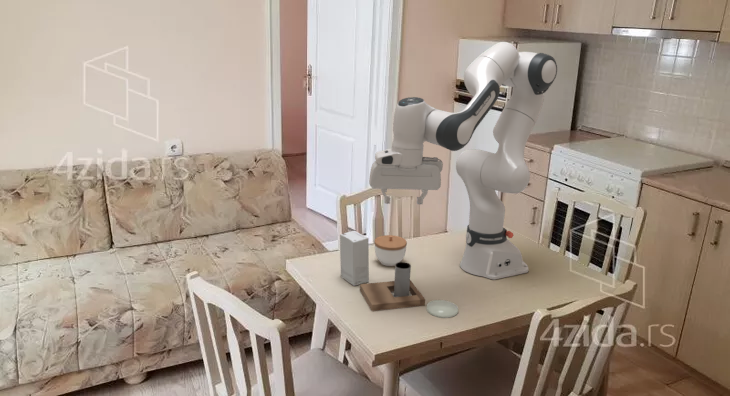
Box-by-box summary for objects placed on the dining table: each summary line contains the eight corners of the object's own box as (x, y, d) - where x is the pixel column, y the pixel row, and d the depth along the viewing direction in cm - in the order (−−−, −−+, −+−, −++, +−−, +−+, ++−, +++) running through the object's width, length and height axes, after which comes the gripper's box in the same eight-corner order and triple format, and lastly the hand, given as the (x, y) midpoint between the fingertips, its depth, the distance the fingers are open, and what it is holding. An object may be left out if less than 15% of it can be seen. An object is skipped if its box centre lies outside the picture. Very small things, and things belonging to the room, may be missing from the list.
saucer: (450, 300, 176) (450, 298, 176) (463, 316, 168) (463, 313, 167) (421, 303, 173) (422, 301, 173) (433, 319, 165) (433, 316, 165)
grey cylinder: (398, 301, 174) (400, 269, 171) (390, 294, 178) (392, 263, 175) (411, 298, 176) (413, 266, 173) (403, 292, 180) (405, 260, 177)
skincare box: (369, 282, 185) (370, 238, 181) (352, 286, 182) (354, 242, 178) (354, 272, 192) (355, 229, 187) (338, 276, 189) (339, 232, 184)
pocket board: (409, 285, 185) (410, 279, 184) (424, 305, 173) (425, 299, 172) (359, 290, 180) (360, 284, 180) (371, 311, 168) (372, 304, 168)
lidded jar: (376, 269, 194) (377, 243, 192) (371, 256, 205) (372, 230, 202) (408, 268, 196) (409, 242, 193) (402, 255, 206) (403, 230, 203)
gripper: (441, 154, 170) (436, 200, 175) (370, 152, 169) (367, 199, 173) (445, 160, 164) (441, 207, 169) (372, 158, 163) (369, 206, 167)
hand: (403, 203), depth 171 cm, fingers open, 8 cm apart
